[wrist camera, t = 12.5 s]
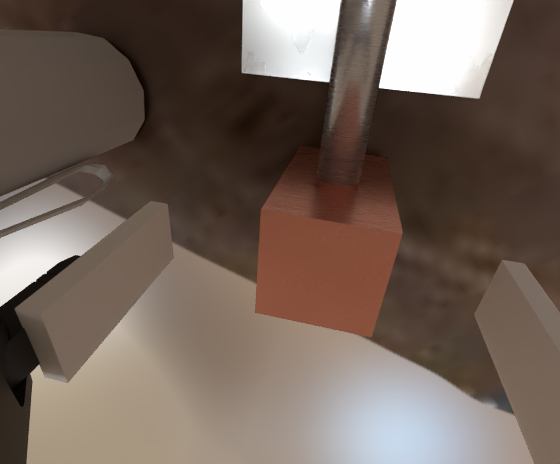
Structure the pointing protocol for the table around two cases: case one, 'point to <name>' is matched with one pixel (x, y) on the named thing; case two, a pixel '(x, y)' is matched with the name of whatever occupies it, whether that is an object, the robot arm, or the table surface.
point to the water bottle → (61, 110)
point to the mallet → (336, 197)
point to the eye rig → (401, 47)
